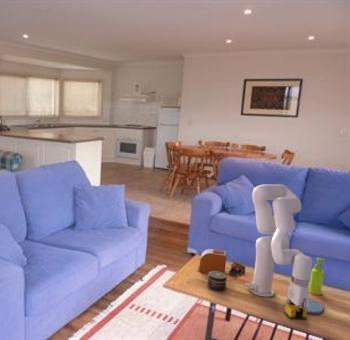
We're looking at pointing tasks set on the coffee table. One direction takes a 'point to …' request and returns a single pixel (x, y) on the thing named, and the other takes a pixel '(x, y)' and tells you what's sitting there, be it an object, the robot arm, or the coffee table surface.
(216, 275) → the jar
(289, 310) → the sponge
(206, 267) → the brown toaster
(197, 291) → the coffee table surface
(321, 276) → the soap dispenser
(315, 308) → the plate
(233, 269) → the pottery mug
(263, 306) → the coffee table surface
